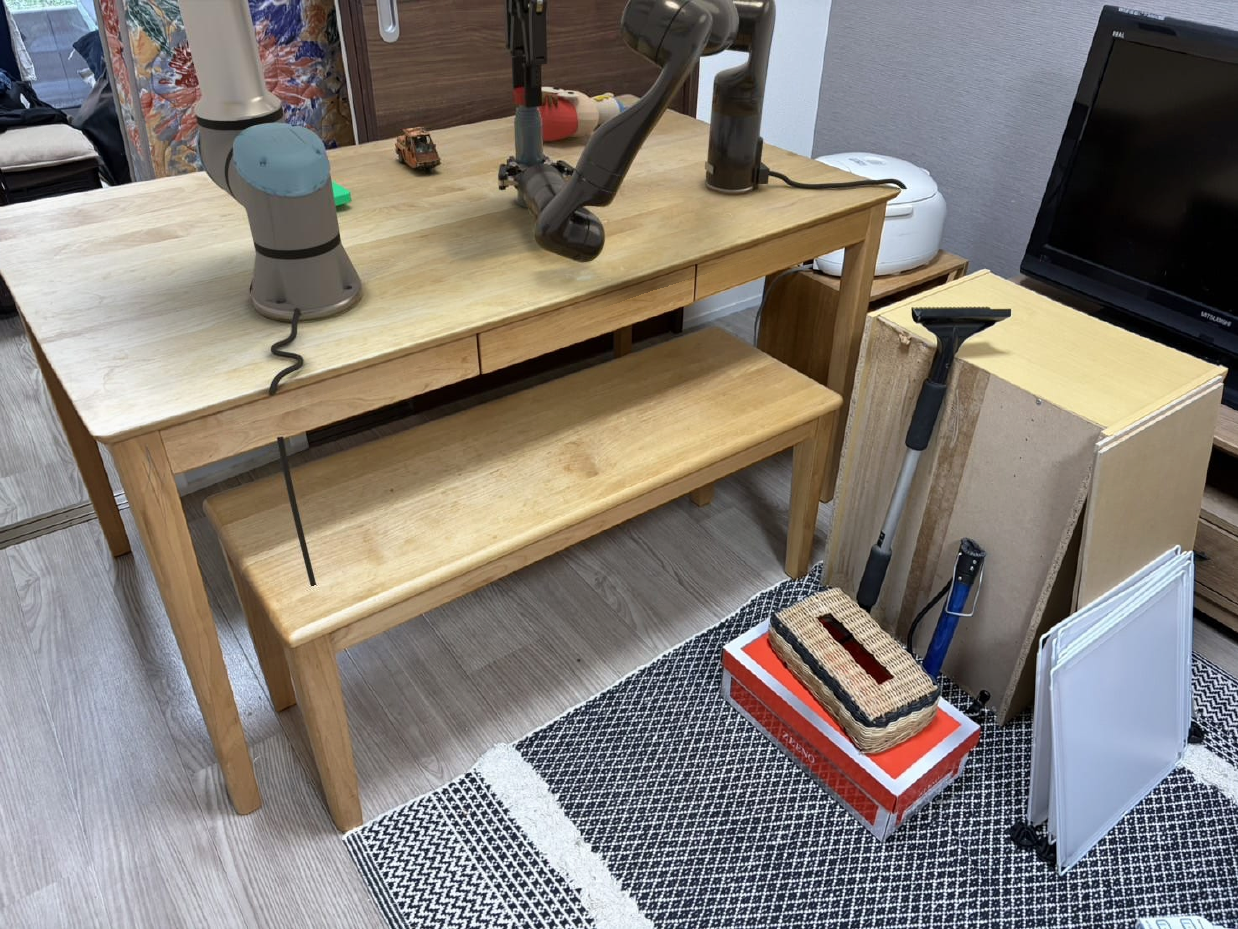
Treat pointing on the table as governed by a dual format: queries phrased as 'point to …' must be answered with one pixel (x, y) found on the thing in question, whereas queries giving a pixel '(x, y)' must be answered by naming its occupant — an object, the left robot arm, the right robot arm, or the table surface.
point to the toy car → (417, 149)
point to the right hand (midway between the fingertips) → (526, 160)
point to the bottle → (528, 139)
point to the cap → (519, 96)
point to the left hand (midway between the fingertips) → (527, 101)
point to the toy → (574, 112)
